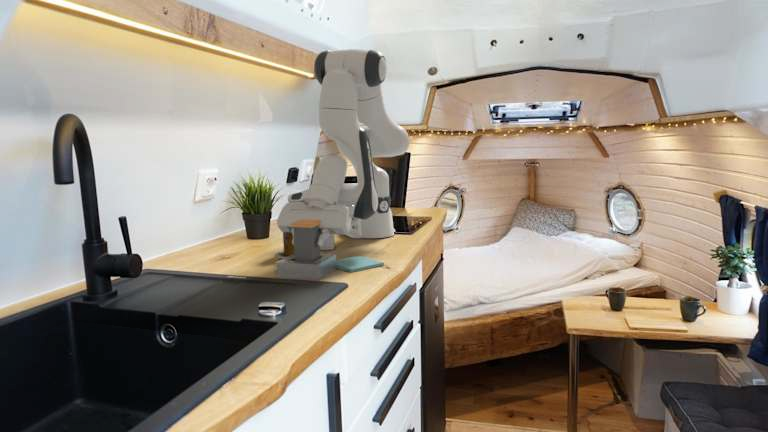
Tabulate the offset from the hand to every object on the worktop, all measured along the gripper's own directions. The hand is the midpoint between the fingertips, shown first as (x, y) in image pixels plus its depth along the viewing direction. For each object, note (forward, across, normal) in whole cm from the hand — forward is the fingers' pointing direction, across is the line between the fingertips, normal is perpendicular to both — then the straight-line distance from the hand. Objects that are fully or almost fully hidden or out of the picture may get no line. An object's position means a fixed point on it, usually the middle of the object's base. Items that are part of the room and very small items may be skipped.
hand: (306, 245), depth 132 cm
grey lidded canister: (+4, 0, -5) cm, 7 cm away
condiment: (-7, +14, -19) cm, 25 cm away
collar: (+5, 0, -6) cm, 8 cm away
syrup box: (-15, +8, -27) cm, 32 cm away
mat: (-3, -9, -14) cm, 17 cm away
